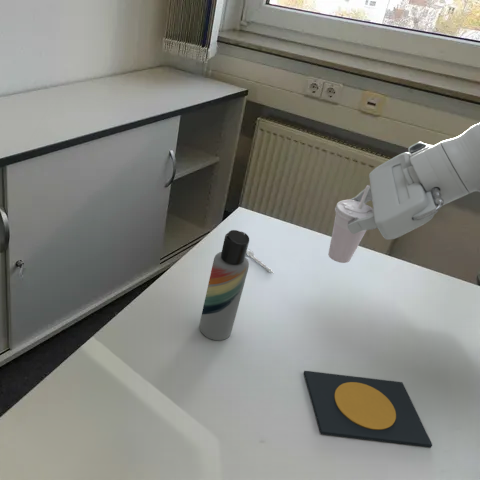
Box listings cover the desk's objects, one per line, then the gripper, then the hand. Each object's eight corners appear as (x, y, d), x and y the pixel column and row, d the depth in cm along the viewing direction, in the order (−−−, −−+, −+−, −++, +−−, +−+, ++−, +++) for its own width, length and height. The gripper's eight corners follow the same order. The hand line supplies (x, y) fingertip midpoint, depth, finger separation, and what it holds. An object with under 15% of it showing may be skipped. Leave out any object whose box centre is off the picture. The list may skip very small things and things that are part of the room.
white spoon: (274, 274, 112) (276, 266, 110) (258, 279, 110) (260, 270, 108) (231, 239, 122) (233, 231, 120) (216, 243, 120) (218, 235, 118)
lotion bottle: (211, 315, 99) (233, 221, 88) (237, 331, 96) (263, 236, 85) (192, 328, 95) (212, 232, 85) (218, 346, 92) (242, 249, 81)
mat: (401, 384, 88) (403, 381, 88) (431, 447, 78) (433, 444, 78) (303, 372, 89) (304, 369, 88) (320, 434, 78) (322, 430, 78)
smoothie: (363, 268, 92) (392, 196, 84) (326, 266, 92) (351, 193, 84) (351, 248, 97) (377, 178, 90) (315, 245, 97) (338, 175, 90)
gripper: (456, 224, 75) (361, 264, 83) (435, 167, 92) (356, 205, 99) (434, 189, 74) (339, 232, 81) (416, 138, 90) (338, 178, 98)
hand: (348, 217), depth 91 cm, fingers closed on smoothie, 6 cm apart
